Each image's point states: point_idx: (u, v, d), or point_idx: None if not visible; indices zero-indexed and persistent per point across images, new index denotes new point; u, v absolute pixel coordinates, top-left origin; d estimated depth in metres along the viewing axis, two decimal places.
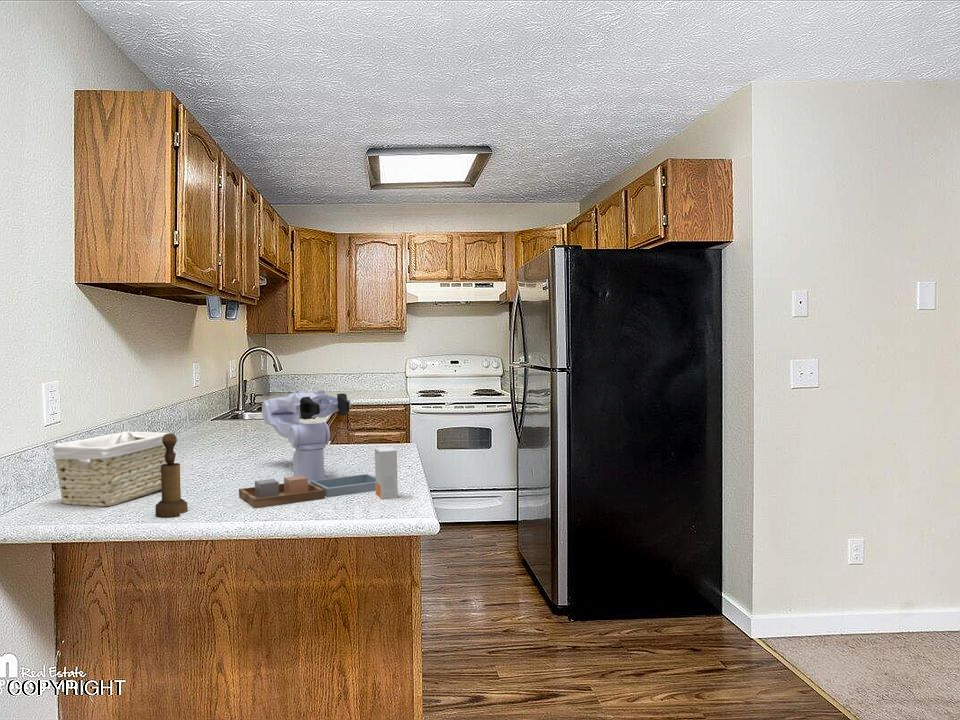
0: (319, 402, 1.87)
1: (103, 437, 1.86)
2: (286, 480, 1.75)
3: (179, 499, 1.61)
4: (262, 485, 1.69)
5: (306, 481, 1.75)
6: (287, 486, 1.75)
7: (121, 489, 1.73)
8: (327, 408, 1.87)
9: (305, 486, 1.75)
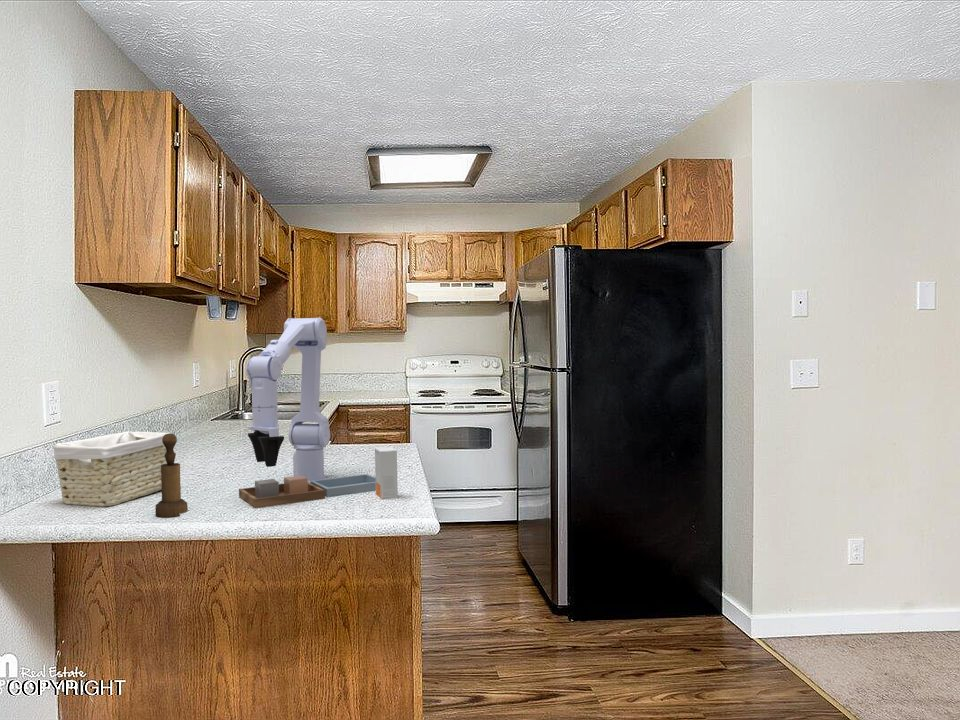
0: None
1: (104, 437, 1.86)
2: (286, 480, 1.75)
3: (179, 499, 1.61)
4: (262, 485, 1.69)
5: (306, 481, 1.75)
6: (287, 486, 1.75)
7: (122, 489, 1.73)
8: None
9: (305, 486, 1.75)
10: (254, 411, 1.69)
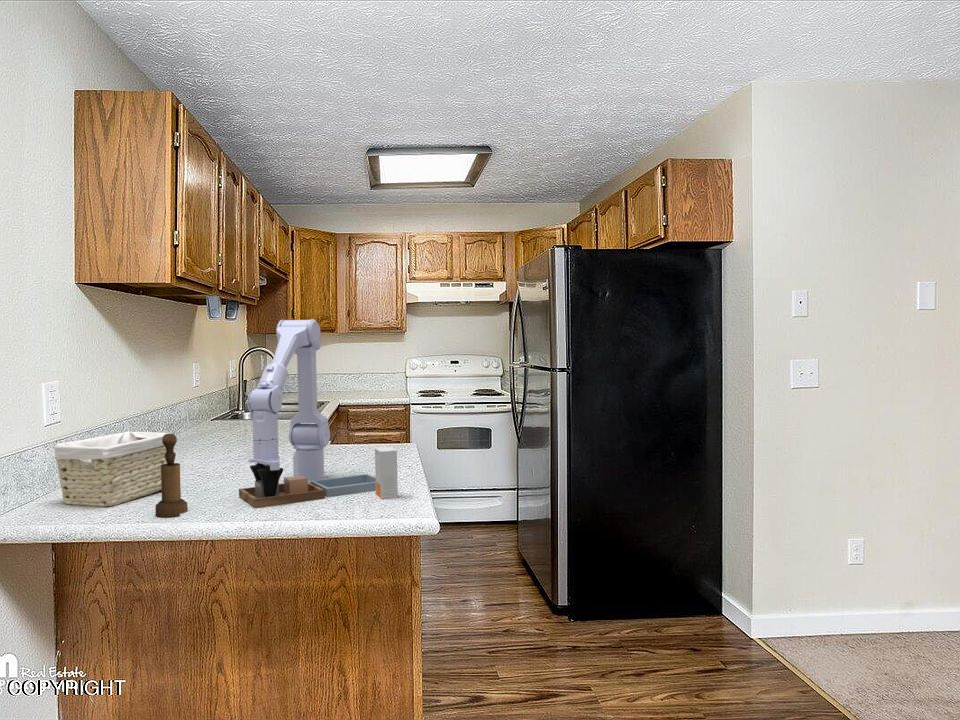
0: None
1: (105, 437, 1.85)
2: (286, 480, 1.75)
3: (179, 499, 1.61)
4: (262, 485, 1.69)
5: (306, 481, 1.75)
6: (287, 486, 1.75)
7: (122, 490, 1.73)
8: None
9: (305, 486, 1.75)
10: (254, 443, 1.70)
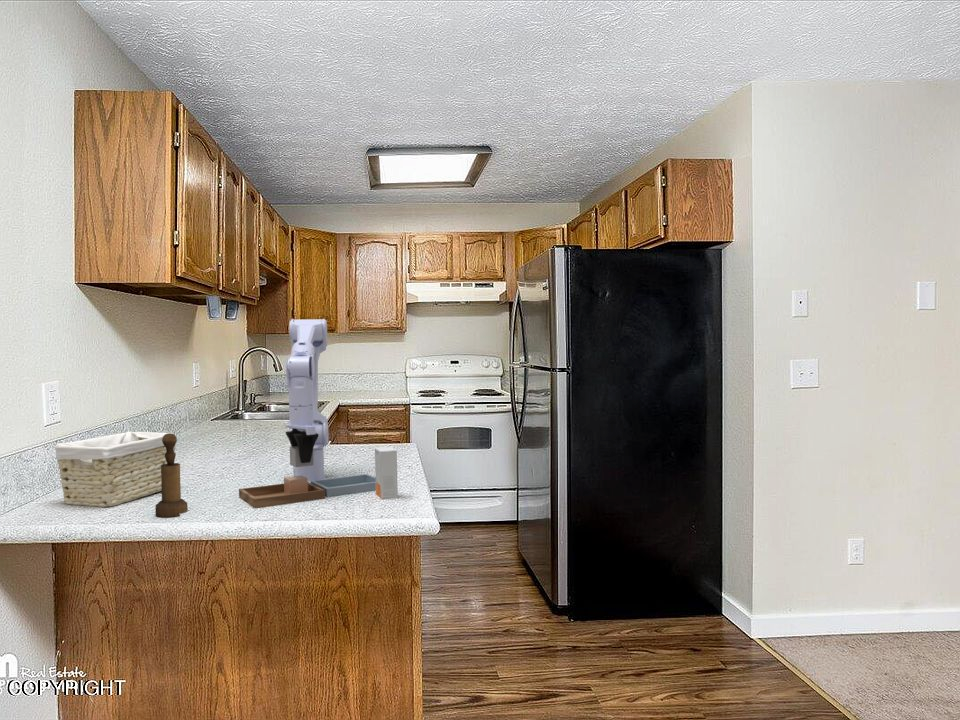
0: None
1: (106, 437, 1.85)
2: (286, 480, 1.75)
3: (179, 499, 1.61)
4: (297, 450, 1.74)
5: (306, 481, 1.75)
6: (287, 486, 1.75)
7: (123, 490, 1.72)
8: None
9: (305, 486, 1.75)
10: (290, 409, 1.74)
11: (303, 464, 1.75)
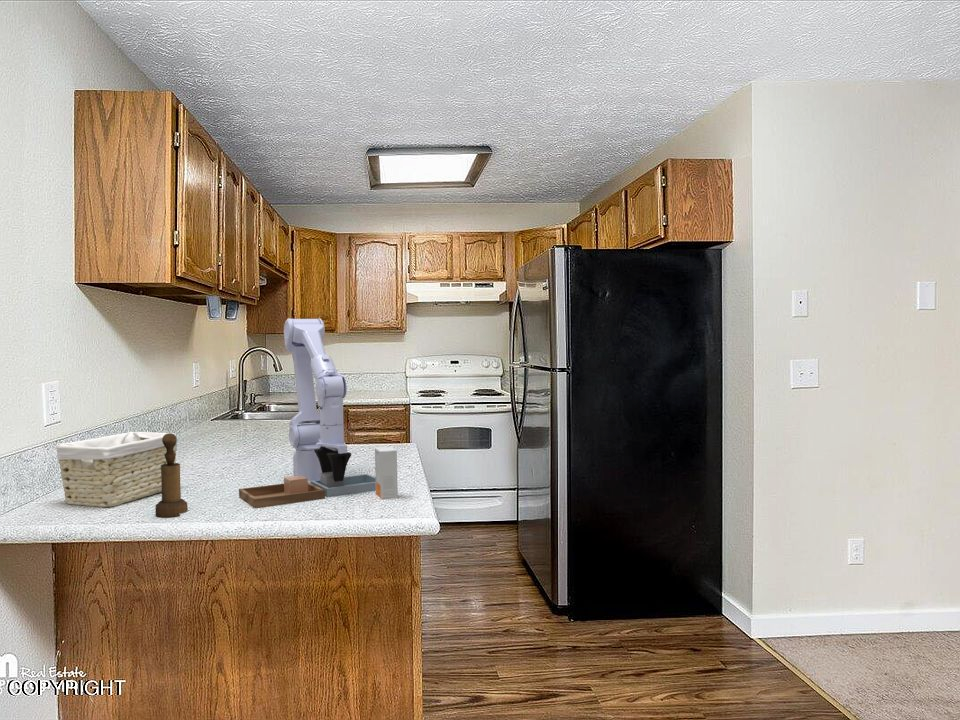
0: None
1: (108, 437, 1.85)
2: (286, 480, 1.75)
3: (179, 499, 1.61)
4: (328, 477, 1.78)
5: (306, 481, 1.75)
6: (287, 486, 1.75)
7: (124, 490, 1.72)
8: None
9: (305, 486, 1.75)
10: (322, 428, 1.78)
11: None
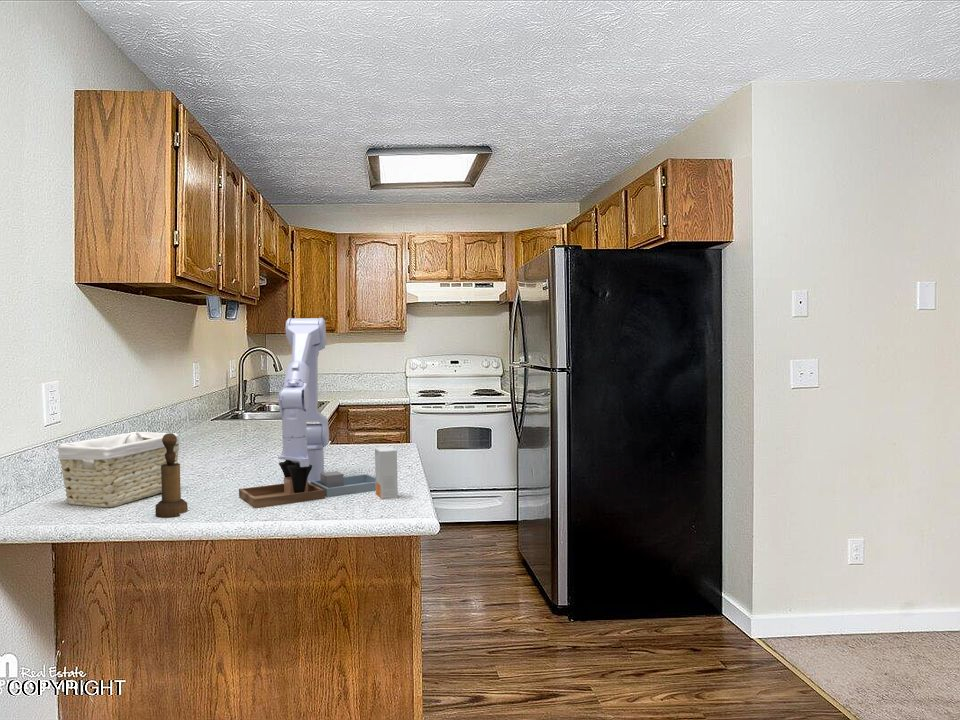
0: None
1: (110, 437, 1.85)
2: (286, 480, 1.75)
3: (179, 499, 1.61)
4: (328, 477, 1.78)
5: None
6: (287, 486, 1.75)
7: (124, 490, 1.72)
8: None
9: (305, 486, 1.75)
10: (284, 441, 1.73)
11: None
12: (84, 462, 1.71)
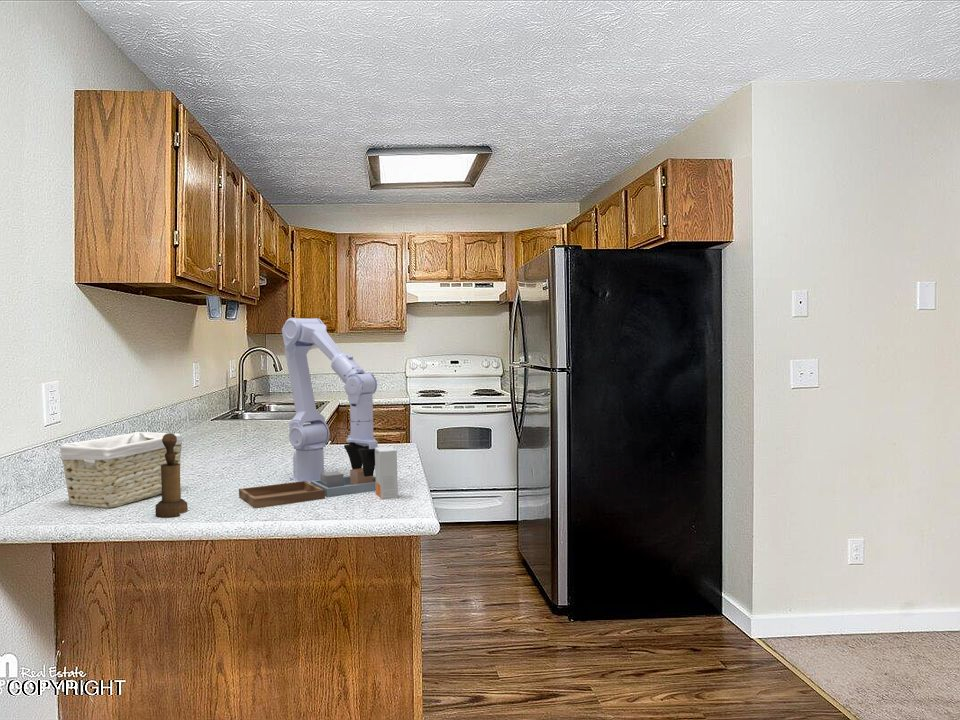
0: None
1: (113, 437, 1.85)
2: (353, 472, 1.84)
3: (179, 499, 1.61)
4: (328, 477, 1.78)
5: None
6: (354, 478, 1.84)
7: (125, 491, 1.71)
8: None
9: (371, 477, 1.84)
10: (352, 424, 1.83)
11: None
12: (86, 462, 1.71)
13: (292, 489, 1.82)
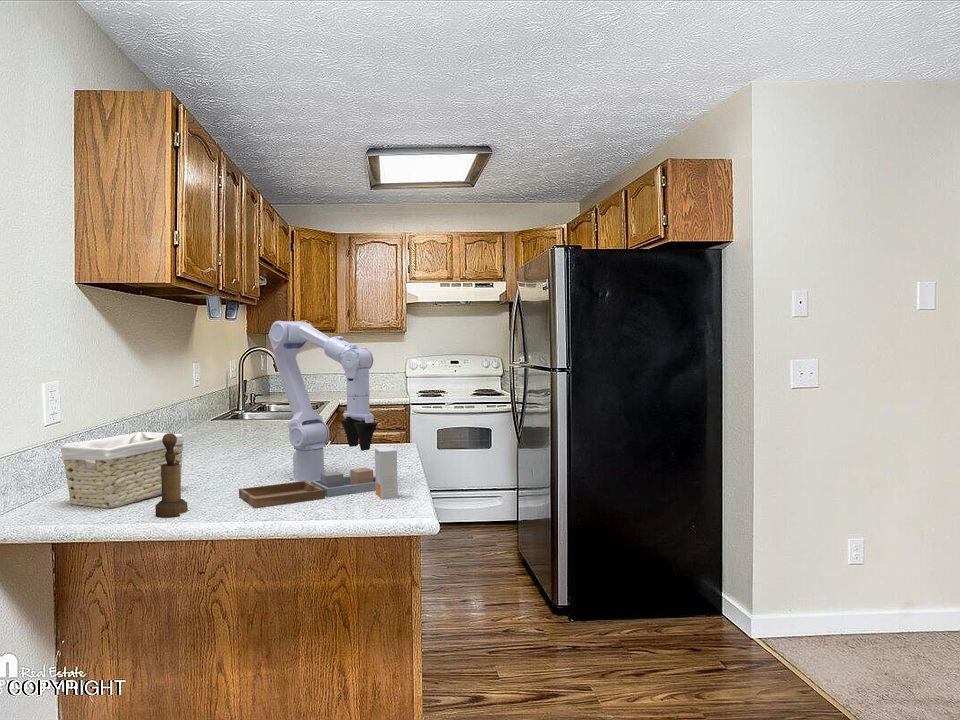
0: None
1: (115, 437, 1.85)
2: (353, 472, 1.84)
3: (179, 499, 1.61)
4: (328, 477, 1.78)
5: (372, 473, 1.84)
6: (354, 478, 1.84)
7: (126, 491, 1.71)
8: None
9: (371, 477, 1.84)
10: (349, 399, 1.84)
11: None
12: (86, 462, 1.71)
13: (292, 489, 1.82)
